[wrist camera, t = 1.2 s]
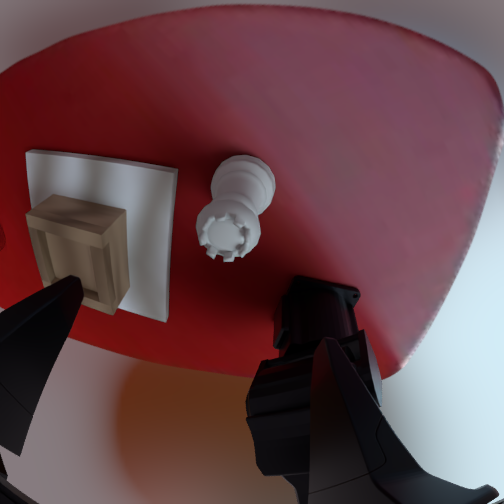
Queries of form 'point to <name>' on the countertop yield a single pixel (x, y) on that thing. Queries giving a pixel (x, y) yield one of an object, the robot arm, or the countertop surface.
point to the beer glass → (2, 239)
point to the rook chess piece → (235, 207)
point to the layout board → (104, 228)
